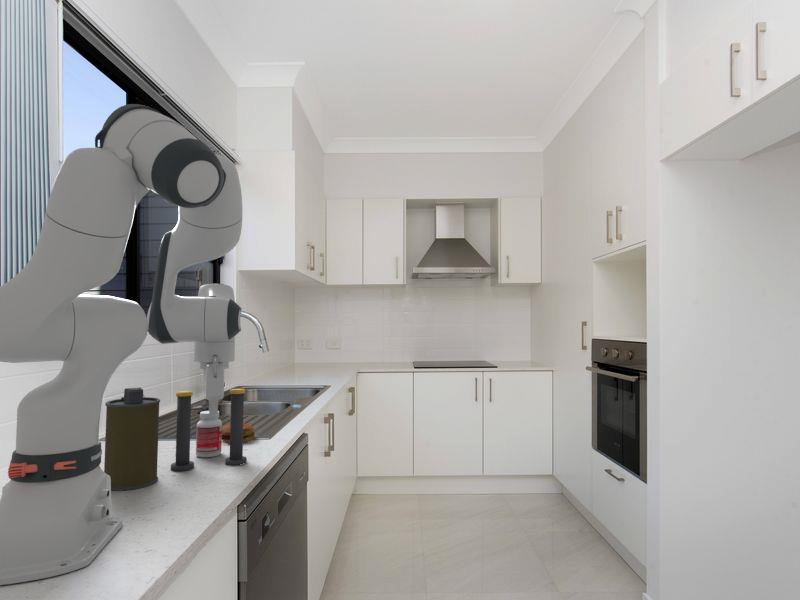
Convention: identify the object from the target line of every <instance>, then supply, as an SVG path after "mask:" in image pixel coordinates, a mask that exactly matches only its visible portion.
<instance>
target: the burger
mask: <svg viewBox="0 0 800 600" xmlns="http://www.w3.org/2000/svg"><path fill="white" fill-rule="evenodd" d="M254 430H255V429H254V426H253V425H251V424H248V423H243V444H245V443H249V442H252V441H254V438H255V436H256V435H255V434H256V433H255V431H254ZM251 440H252V441H251ZM222 441H223V442H225V443H229V444H230V423H228V424H225V425H223V426H222Z"/></svg>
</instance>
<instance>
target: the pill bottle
mask: <svg viewBox="0 0 800 600" xmlns="http://www.w3.org/2000/svg"><path fill="white" fill-rule="evenodd" d="M199 418H200V420H199V421H198V422H197V423H196V439H195V446H196V447H195V455H196V456H197V457H198V458H213V457H214V458H215V457H218V456H220V455H221V453H222V441H223V440H222V428H223V423H222V420H221V419H220V411H219V410H218V413H217V414H216V415H210V414H209V410H204V411H200V413H199Z"/></svg>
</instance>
